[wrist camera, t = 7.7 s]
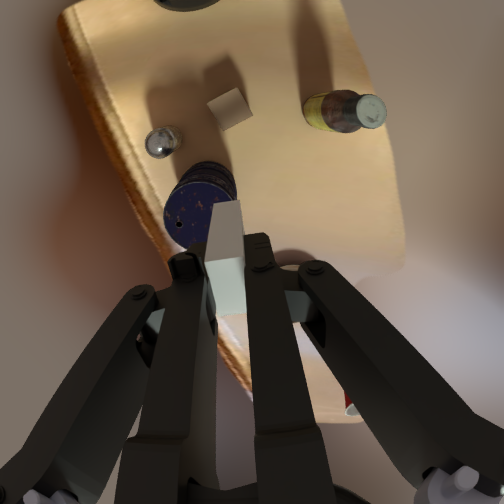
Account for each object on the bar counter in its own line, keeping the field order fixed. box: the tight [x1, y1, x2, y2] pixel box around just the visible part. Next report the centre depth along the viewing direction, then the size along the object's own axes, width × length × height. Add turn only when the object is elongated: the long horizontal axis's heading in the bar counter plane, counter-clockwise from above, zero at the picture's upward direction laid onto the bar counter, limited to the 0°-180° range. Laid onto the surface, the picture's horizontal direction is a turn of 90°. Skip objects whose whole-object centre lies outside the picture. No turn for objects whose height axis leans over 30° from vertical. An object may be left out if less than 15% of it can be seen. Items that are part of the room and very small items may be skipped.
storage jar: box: [163, 161, 237, 249], centre depth 44 cm, size 10×10×15 cm
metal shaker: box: [145, 126, 182, 159], centre depth 42 cm, size 5×5×9 cm
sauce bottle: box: [303, 90, 387, 133], centre depth 36 cm, size 6×6×20 cm
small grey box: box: [207, 87, 253, 131], centre depth 42 cm, size 5×5×6 cm
